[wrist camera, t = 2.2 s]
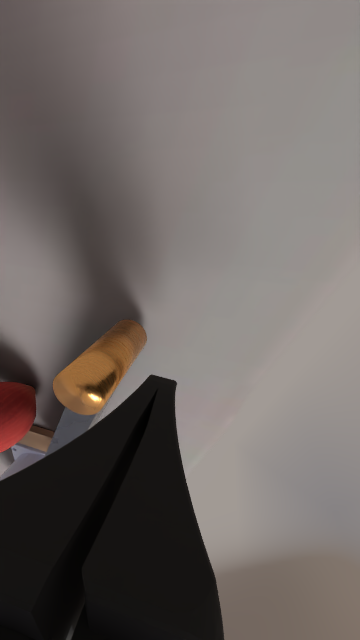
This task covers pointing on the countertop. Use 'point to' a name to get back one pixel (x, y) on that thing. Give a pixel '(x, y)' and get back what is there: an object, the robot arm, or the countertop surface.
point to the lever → (94, 380)
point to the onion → (15, 412)
